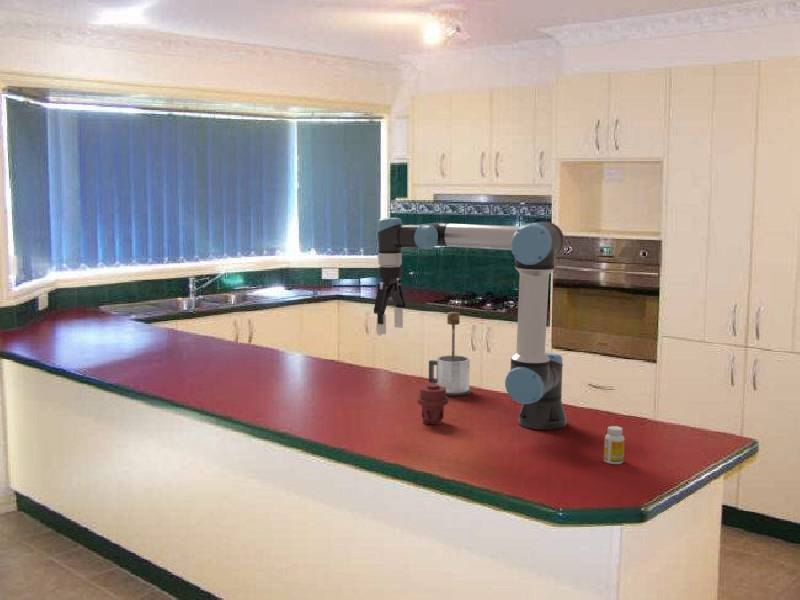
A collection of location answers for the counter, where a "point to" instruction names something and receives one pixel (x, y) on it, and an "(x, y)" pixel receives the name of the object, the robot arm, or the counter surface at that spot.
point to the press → (451, 374)
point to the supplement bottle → (614, 445)
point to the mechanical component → (432, 403)
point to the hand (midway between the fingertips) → (390, 330)
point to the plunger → (453, 327)
